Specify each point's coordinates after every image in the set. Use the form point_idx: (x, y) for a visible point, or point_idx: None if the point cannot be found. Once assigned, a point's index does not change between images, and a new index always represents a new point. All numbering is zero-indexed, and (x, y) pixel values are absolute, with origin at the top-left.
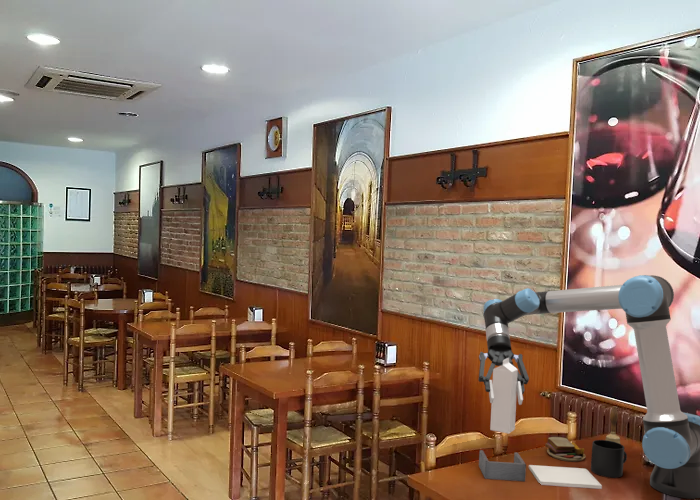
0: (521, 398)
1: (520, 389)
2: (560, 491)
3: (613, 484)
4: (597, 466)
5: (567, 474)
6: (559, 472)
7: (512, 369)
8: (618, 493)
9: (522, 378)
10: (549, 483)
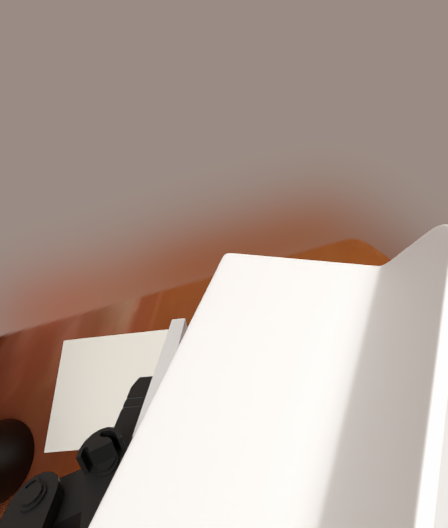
0: (177, 324)
1: (162, 367)
2: (152, 306)
3: (30, 375)
4: (16, 438)
5: (107, 390)
6: (121, 400)
7: (203, 346)
8: (48, 327)
9: (86, 486)
10: (163, 330)
